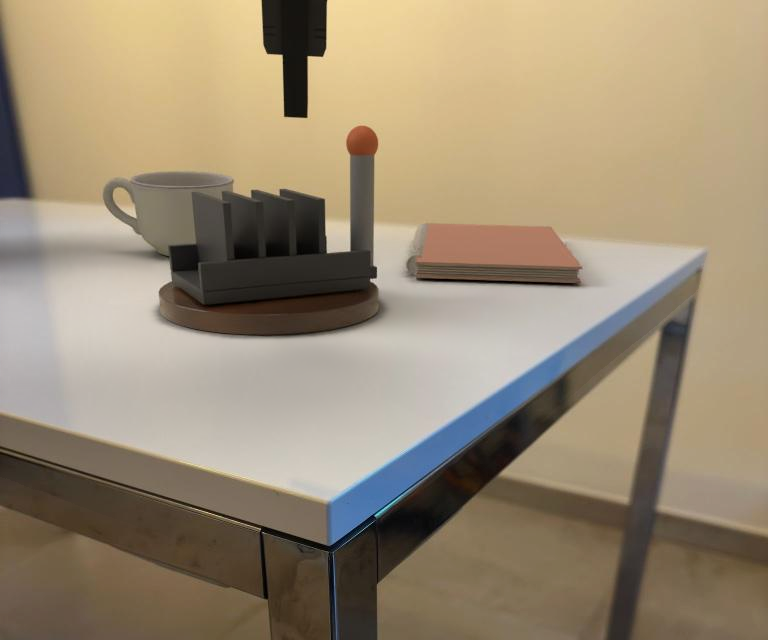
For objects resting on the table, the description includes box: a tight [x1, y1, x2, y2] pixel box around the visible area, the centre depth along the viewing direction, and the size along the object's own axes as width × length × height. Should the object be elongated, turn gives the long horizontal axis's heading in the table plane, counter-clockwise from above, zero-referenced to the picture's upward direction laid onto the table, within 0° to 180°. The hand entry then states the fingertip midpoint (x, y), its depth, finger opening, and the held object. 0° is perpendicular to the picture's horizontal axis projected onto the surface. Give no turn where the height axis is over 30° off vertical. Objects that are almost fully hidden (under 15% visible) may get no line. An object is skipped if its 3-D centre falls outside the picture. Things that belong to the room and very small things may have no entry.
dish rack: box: [168, 125, 379, 305], centre depth 62 cm, size 17×9×12 cm, turn 118°
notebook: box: [405, 222, 583, 284], centre depth 87 cm, size 27×17×2 cm, turn 175°
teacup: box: [102, 170, 235, 257], centre depth 85 cm, size 14×11×8 cm
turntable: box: [158, 280, 380, 336], centre depth 65 cm, size 18×18×2 cm
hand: (296, 108), depth 50 cm, fingers closed
